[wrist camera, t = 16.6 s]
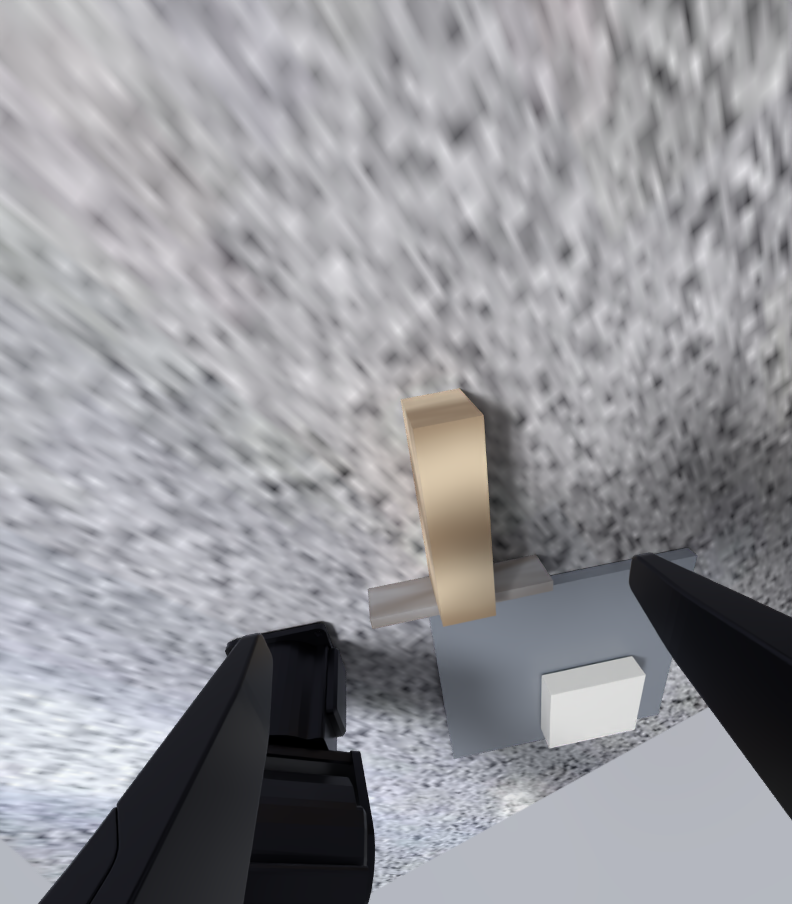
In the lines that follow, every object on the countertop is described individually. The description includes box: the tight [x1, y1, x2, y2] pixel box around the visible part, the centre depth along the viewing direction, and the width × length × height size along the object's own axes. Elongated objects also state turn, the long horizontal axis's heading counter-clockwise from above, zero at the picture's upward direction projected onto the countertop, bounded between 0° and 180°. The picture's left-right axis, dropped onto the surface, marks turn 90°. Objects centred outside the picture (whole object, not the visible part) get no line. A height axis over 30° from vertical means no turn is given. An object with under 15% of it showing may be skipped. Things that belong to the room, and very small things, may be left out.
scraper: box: [368, 389, 553, 629], centre depth 21 cm, size 13×11×4 cm
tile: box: [541, 656, 646, 748], centre depth 30 cm, size 7×2×7 cm
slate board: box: [429, 548, 697, 759], centre depth 30 cm, size 18×18×1 cm
